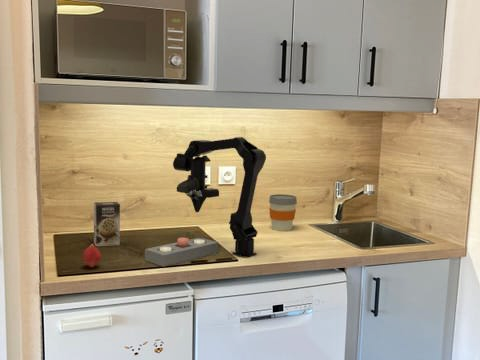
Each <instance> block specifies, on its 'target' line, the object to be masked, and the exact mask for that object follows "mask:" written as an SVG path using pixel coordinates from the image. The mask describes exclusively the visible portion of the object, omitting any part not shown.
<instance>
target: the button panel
mask: <svg viewBox="0 0 480 360" xmlns="http://www.w3.org/2000/svg"><path fill="white" fill-rule="evenodd" d="M196 239H202V240H205V243H202V244H196V243H194V240H196ZM160 247H171V251H167V252H163V251H160ZM215 254H219V241H214V240H212V239H211V240H210V239H207V238H204V237H195V238H194V237H193V238H191V239H189V246H188V247H185V248H180V247H177V242H172V243H167V244H164V245H157V246H154V247H149V248H145V250H144V261H146V262H150V263H152V264H155V265H158V266H160V267H162V268H163V267H164V268H165V267H169V266H171V265H172V266H173V265H175V264H179V263H184V262H187V261H192V260H195V259H199V257H200V258H202V257H203V256H204V257H207V255H208V256H212V255H215Z"/></svg>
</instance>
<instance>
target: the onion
mask: <svg viewBox="0 0 480 360" xmlns="http://www.w3.org/2000/svg"><path fill="white" fill-rule="evenodd" d="M101 258H102V253H101V252H100V250H99V249H98V248H97V246H95V244H94V243H91V244H90V245H89V246H88V247H87V248H86V249H84V251H83V253H82V261H83V262H84V263H85V264H86V265H87V266H88V267H90V268H94V267H95V266H97V264H99V262H100V261H101Z"/></svg>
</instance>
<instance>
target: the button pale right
mask: <svg viewBox="0 0 480 360" xmlns="http://www.w3.org/2000/svg"><path fill="white" fill-rule="evenodd" d="M194 243H196V244H202V243H205V240H202V239H196V240H194Z"/></svg>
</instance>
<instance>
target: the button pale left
mask: <svg viewBox="0 0 480 360" xmlns="http://www.w3.org/2000/svg"><path fill="white" fill-rule="evenodd" d="M160 251H163V252H167V251H171V247H160Z"/></svg>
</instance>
